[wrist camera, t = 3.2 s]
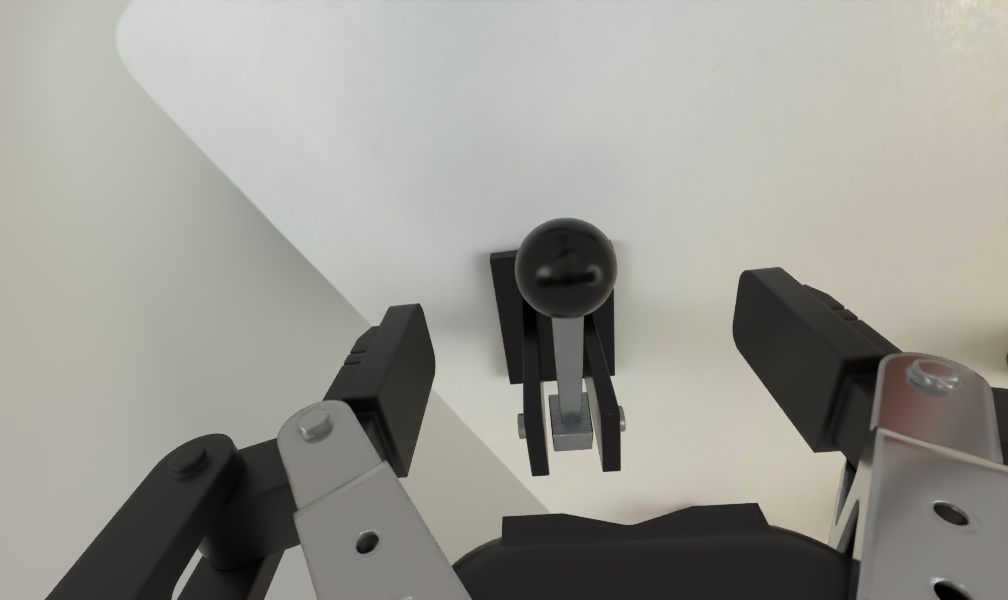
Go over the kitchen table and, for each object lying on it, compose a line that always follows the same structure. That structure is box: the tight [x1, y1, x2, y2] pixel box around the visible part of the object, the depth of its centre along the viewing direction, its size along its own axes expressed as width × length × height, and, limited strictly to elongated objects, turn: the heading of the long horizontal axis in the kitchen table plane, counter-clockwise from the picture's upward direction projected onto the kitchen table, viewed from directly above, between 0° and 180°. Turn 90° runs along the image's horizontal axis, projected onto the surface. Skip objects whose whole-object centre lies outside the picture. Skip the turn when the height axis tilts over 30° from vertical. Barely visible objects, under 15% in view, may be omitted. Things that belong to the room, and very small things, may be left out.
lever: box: [515, 218, 617, 451], centre depth 19 cm, size 17×3×3 cm, turn 8°
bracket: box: [490, 240, 626, 476], centre depth 30 cm, size 12×9×14 cm
